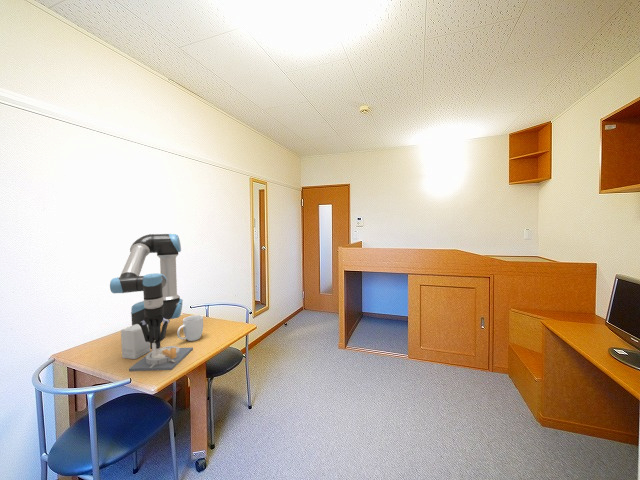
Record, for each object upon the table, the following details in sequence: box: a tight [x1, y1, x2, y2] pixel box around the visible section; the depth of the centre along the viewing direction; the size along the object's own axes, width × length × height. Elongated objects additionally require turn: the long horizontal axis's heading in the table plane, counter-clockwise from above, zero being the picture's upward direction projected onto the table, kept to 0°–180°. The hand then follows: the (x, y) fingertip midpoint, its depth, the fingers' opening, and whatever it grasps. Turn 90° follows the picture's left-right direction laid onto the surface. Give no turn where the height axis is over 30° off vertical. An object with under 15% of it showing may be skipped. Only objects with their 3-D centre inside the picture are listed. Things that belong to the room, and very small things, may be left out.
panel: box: [128, 345, 194, 372], centre depth 125 cm, size 20×20×4 cm
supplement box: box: [120, 324, 151, 360], centre depth 130 cm, size 9×9×15 cm
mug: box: [176, 314, 204, 342], centre depth 147 cm, size 15×11×13 cm
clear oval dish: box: [151, 347, 176, 359], centre depth 123 cm, size 16×10×6 cm, turn 58°
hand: (155, 355), depth 116 cm, fingers closed
